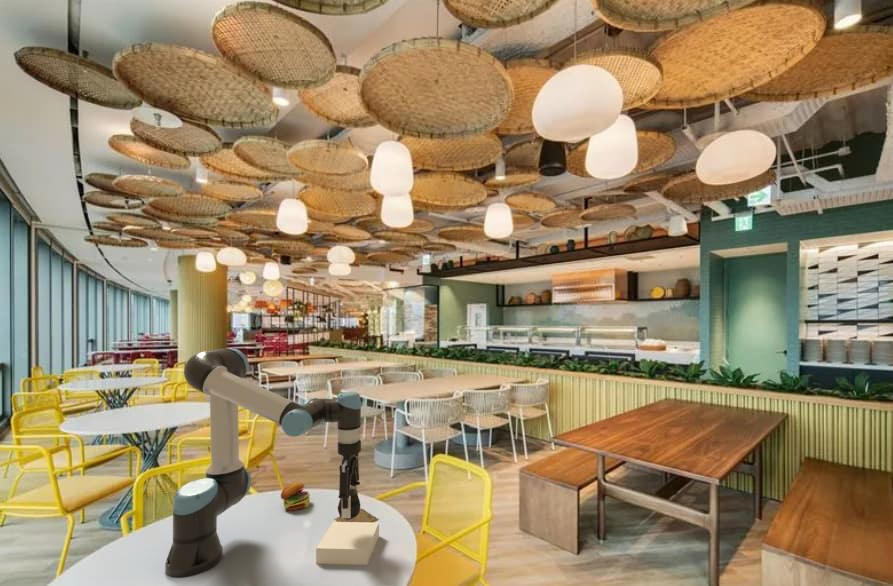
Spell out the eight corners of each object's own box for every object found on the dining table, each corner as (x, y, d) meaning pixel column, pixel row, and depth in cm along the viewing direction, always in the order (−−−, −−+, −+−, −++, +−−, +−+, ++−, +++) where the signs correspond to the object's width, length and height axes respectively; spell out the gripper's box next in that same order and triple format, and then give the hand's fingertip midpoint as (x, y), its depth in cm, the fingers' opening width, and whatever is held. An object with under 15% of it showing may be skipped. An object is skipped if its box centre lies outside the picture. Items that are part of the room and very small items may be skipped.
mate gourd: (353, 509, 139) (353, 479, 140) (365, 516, 134) (365, 485, 134) (334, 516, 134) (334, 485, 135) (345, 524, 129) (345, 492, 129)
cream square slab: (316, 565, 126) (316, 548, 126) (333, 536, 142) (333, 521, 142) (367, 566, 125) (367, 549, 125) (379, 537, 141) (379, 522, 141)
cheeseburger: (302, 513, 158) (297, 487, 159) (278, 517, 160) (273, 491, 161) (316, 500, 168) (310, 476, 169) (293, 505, 170) (287, 481, 170)
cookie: (333, 520, 153) (333, 517, 153) (361, 509, 161) (361, 507, 161) (349, 533, 144) (349, 530, 144) (379, 520, 152) (379, 518, 152)
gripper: (351, 450, 125) (352, 527, 124) (368, 431, 145) (368, 497, 144) (327, 450, 125) (327, 527, 124) (347, 431, 145) (347, 497, 144)
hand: (349, 511), depth 134 cm, fingers closed on mate gourd, 7 cm apart
